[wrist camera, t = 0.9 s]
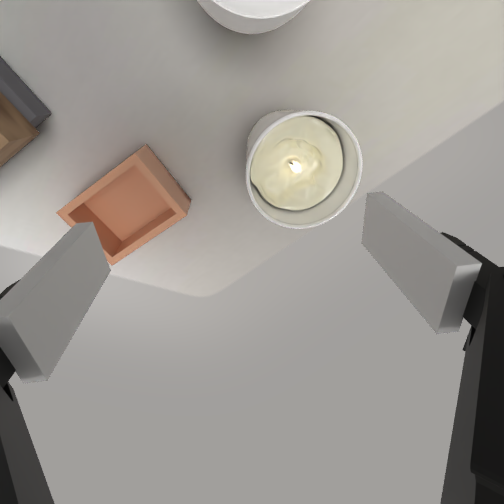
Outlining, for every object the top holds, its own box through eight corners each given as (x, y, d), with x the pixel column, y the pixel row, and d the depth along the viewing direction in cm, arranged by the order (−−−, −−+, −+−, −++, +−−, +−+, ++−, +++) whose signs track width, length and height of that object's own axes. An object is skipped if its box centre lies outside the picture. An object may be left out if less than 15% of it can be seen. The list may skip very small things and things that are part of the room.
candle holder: (267, 204, 39) (283, 248, 29) (222, 135, 35) (222, 158, 25) (336, 160, 37) (380, 191, 27) (298, 82, 33) (332, 82, 23)
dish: (75, 197, 37) (55, 212, 33) (146, 143, 35) (134, 152, 30) (124, 245, 41) (112, 265, 36) (191, 200, 38) (186, 215, 34)
